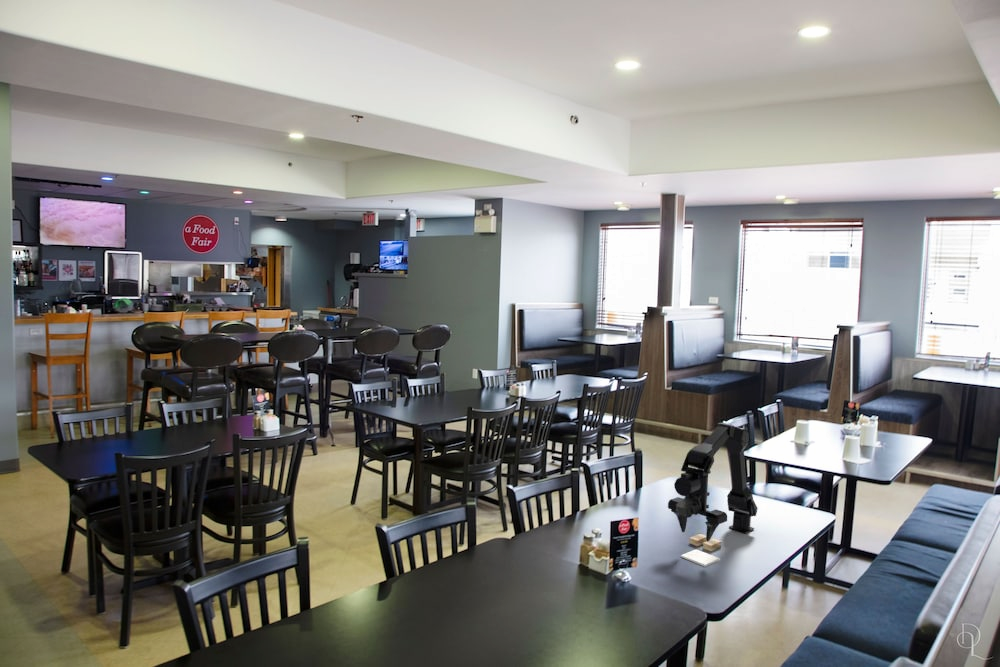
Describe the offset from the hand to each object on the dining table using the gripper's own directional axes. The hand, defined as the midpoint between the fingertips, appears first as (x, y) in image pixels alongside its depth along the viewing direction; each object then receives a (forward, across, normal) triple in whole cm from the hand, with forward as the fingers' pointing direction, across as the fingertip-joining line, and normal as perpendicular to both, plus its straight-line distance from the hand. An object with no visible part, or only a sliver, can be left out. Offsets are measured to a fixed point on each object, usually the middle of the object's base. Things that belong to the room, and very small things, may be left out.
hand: (695, 536), depth 220 cm
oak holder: (+6, -3, +10) cm, 13 cm away
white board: (+7, -2, 0) cm, 7 cm away
